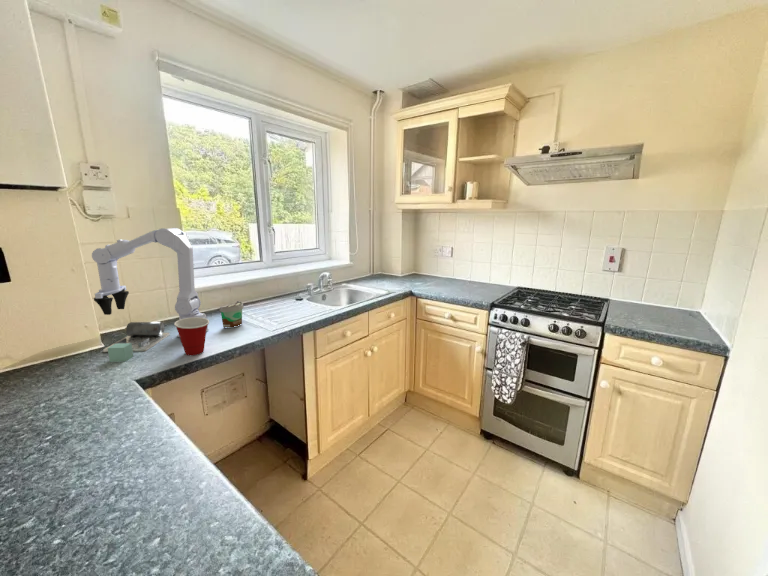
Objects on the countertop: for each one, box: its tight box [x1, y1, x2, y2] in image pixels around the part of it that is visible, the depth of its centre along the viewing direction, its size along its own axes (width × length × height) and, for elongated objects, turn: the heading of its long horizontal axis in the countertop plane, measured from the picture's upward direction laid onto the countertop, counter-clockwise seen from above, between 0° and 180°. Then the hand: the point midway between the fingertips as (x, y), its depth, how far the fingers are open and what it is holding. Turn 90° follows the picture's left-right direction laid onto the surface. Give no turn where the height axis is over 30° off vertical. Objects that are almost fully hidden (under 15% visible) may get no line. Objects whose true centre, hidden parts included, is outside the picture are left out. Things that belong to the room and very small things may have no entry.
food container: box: [219, 300, 245, 328], centre depth 144 cm, size 12×6×10 cm, turn 168°
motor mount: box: [102, 321, 171, 353], centre depth 122 cm, size 14×16×7 cm
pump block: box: [107, 343, 134, 363], centre depth 108 cm, size 5×4×5 cm
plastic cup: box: [174, 317, 210, 356], centre depth 114 cm, size 11×11×12 cm
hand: (114, 311), depth 128 cm, fingers open, 7 cm apart
